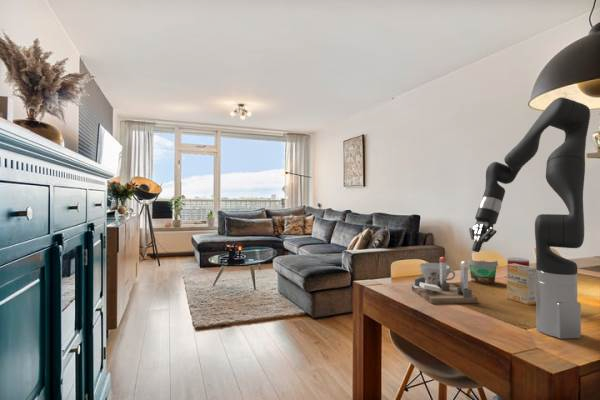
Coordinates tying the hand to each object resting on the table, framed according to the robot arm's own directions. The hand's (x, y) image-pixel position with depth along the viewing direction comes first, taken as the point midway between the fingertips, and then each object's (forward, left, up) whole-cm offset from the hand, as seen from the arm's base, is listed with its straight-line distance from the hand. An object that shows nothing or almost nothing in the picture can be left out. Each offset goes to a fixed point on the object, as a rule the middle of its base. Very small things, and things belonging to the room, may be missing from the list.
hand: (475, 251), depth 131 cm
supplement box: (-9, -12, -17) cm, 23 cm away
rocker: (-2, +19, -14) cm, 24 cm away
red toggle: (+2, +12, -14) cm, 19 cm away
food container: (+17, -14, -17) cm, 28 cm away
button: (+7, +19, -15) cm, 25 cm away
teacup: (+18, +7, -17) cm, 26 cm away
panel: (0, +13, -17) cm, 22 cm away
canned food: (+15, -28, -17) cm, 37 cm away
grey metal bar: (-7, +8, -14) cm, 18 cm away
